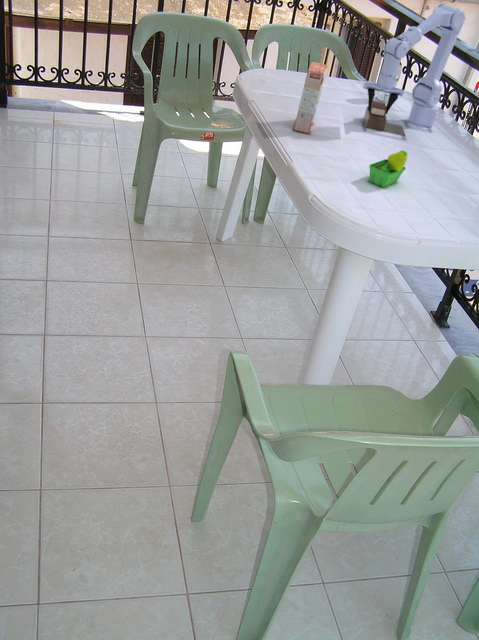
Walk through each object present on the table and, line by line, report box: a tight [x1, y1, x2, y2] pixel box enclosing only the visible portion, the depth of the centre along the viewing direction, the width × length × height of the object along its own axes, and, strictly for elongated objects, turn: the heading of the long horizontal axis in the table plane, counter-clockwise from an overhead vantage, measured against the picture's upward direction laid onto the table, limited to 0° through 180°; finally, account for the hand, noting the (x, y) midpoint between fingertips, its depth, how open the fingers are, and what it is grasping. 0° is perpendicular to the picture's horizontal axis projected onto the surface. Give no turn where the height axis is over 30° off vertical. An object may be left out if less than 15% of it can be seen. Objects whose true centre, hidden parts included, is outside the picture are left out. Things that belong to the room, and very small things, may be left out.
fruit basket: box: [368, 149, 408, 188], centre depth 208 cm, size 11×9×11 cm
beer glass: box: [377, 64, 403, 103], centre depth 288 cm, size 7×7×15 cm
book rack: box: [363, 105, 407, 137], centre depth 254 cm, size 15×12×6 cm
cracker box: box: [293, 61, 328, 135], centre depth 237 cm, size 14×6×21 cm, turn 168°
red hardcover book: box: [370, 100, 387, 117], centre depth 251 cm, size 5×8×3 cm, turn 175°
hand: (377, 111), depth 252 cm, fingers open, 6 cm apart
